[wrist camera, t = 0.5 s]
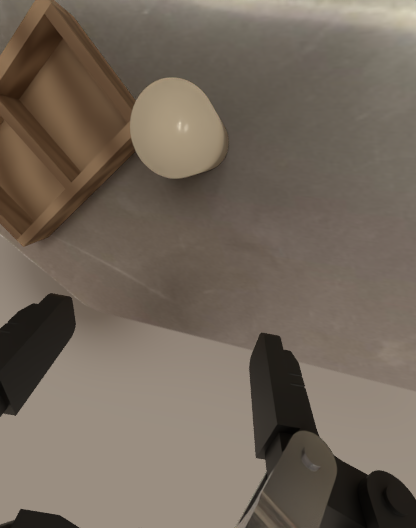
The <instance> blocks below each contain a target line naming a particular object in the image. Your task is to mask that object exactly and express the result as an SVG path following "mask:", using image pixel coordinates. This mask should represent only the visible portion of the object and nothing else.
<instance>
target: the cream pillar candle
mask: <svg viewBox="0 0 416 528" xmlns="http://www.w3.org/2000/svg"><path fill="white" fill-rule="evenodd" d="M130 133H131V139H132V142H133V146H134V148H135V151H136V152H137V154H138V156H139V158H140V159H141V161H142V162H143V163H144V164H145V165H146V166H147V167H148V168H149V169H150V170H152V171H153V172H155V173H156V174H158V175H161V176H163V177H167V178H174V179H177V178H184V177H188V176H192V175H195V174H198V173H202V172H205V171H209V170H211V169H214V168H216V167H217V166H218V165H219V164H221V162H222V161H223V160H224V158H225V156H226V154H227V151H228V147H229V138H228V134H227V131H226V128H225V127H224V125H223V123H222V121H221V120H220V118H219V116H218V115H217V113H216V111H215V109H214V108H213V106H212V104H211V103H210V101H209V99H208V98H207V96H206V95H205V94H204V92H203V91H202V90H201V89H200V88H198V87H197V86H196V85H194V84H193V83H191V82H189V81H187V80H184V79H180V78H171V77H170V78H163V79H160V80H157V81H155V82H153V83H152V84H150V85H149V86H147V87H146V88H145V89H144V90H143V91H142V93H141V94H140V95H139V97H138V98H137V100H136V102H135V104H134V106H133V110H132V113H131V119H130Z"/></svg>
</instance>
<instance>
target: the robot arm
mask: <svg viewBox="0 0 416 528" xmlns="http://www.w3.org/2000/svg"><path fill="white" fill-rule="evenodd" d="M75 325H76V323H75V316H74V309H73V302H72V298H71V297H69V296H64V295H58V294H53V293H50V294H48V295H47V296H46V297H45V298H44V299H43V300H42V301H41V302H40V303H39V304H31V305H29V306H27V307H26V308H24V309H22V310H20V311H18V312H17V314H15V315H14V316H13V317H12V318H11V319H10V320H9V321H8V323H7V324H5V325H4V326H3V327H1V328H0V417H1V415H2V414H3V413H4V414H10V415H15V416H16V415H17V413H18V412H19V410H20V409H21V408H22V406H23V405H24V403H25V402H26V401H27V399H28V398H29V396H30V395H31V393H32V392H33V391H34V389H35V388H36V386H37V385H38V384H39V382H40V381H41V379H42V378H43V377H44V375H45V374H46V372H47V371H48V369H49V368H50V367H51V365H52V364H53V362H54V361H55V360H56V358H57V357H58V355H59V354H60V352H61V351H62V350H63V348H64V347H65V346H66V344H67V343H68V341H69V340H70V338H71V337H72V335H73V333H74V330H75ZM249 370H250V384H251V398H252V411H253V425H254V438H255V452H256V458H259V459H265V460H266V470H267V472H266V473H265V475H264V477H263V479H262V480H261V482H260V484H259V485H258V487H257V489H256V491H255V493H254V494H253V496H252V498H251V500H250V501H249V504H248V505H247V507H246V509H245V510H244V512H243V514H242V516H241V517H240V519H239V521H238V523H237V524H236V526H235V528H416V499H415V498H414V496H413V495H412V493H411V492H410V491H409V490H408V488H407V487H406V486H405V485H404V484H403V483H402V482H401V481H400V480H398V479H397V478H396V477H394V476H393V475H391V474H389V473H387V472H384V471H380V470H378V471H374V472H372V473H371V474H369V475H367V474H365V473H363V472H361V471H360V470H358V469H356V468H354V467H352V466H350V465H349V464H347V463H345V462H343V461H341V460H340V459H338V458H337V457H336V456H334V455H333V453H332V451H331V450H330V448H329V447H328V445H327V444H326V443H325V442H324V441H323V440H322V439H321V438H320V437H319V434H318V432H317V429H316V425H315V422H314V418H313V414H312V411H311V407H310V403H309V400H308V396H307V392H306V389H305V388H304V386H305V385H304V381H303V378H302V374H301V370H300V367H299V363H298V361H297V360H296V358H295V357H294V355H293V354H292V352H291V351H288V350H283V346H282V342H281V338H280V336H278V335H272V334H267V333H261V334H260V335H259V338H258V340H257V343H256V345H255V348H254V350H253V352H252V355H251V359H250V366H249ZM0 528H79V527H77V526H76V525H74V524H73V523H71V522H70V521H68V520H66V519H65V518H63V517H61V516H60V515H55V514H49V513H43V512H37V511H30V510H24V509H21V510H20V511H19V513H18V515H17V517H16V519H15V520H13V521H10V522H7V523H4V524H1V525H0Z"/></svg>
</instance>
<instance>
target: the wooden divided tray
mask: <svg viewBox="0 0 416 528" xmlns="http://www.w3.org/2000/svg"><path fill="white" fill-rule="evenodd" d="M135 102H136V101H135V99H134V98H133V97H132V95H131V94H130V92H129V91H128V90H127V88H126V87H125V86H124V84H123V83H122V82H121V80H120V79H119V78H118V76H117V75H116V74H115V72H114V71H113V69H112V68H111V67H110V65H109V64H108V63H107V61H106V60H105V59H104V57H103V56H102V55H101V53H100V52H99V51H98V49H97V48H96V47H95V45H94V44H93V42H92V41H91V40H90V38H89V37H88V36H87V34H86V33H85V32H84V30H83V29H82V28H81V26H80V25H79V24H78V22H77V21H76V20H75V18H74V17H73V16H72V15H71V14H70V13H68V12H67V11H66V10H65V9H64V8H62V7H61V6H60V5H59V4H58V3H57V2H55V1H54V0H35V2H34V3H33V5H32V6H31V8H30V9H29V11H28V13H27V14H26V16H25V17H24V19H23V21H22V22H21V24H20V25H19V27H18V28H17V30H16V32H15V33H14V35H13V36H12V38H11V40H10V41H9V43H8V44H7V46H6V47H5V49H4V51H3V52H2V54H1V55H0V224H1V225H2V226H3V227H4V228H5V229H6V230H7V231H8V232H9V233H10V234H11V235H12V236H13V237H14V238H15V239H16V240H17V241H18V242H19V243H20V244H21V245H22V246H23V247H24V246H27V245H29V244H32V243H35V242H37V241H40V240H42V239H45V238H47V237H49V236H50V235H51V234H52V233H53V232H54V231H55V230H56V229H57V228H58V227H59V226H60V225H61V224H62V223H63V222H64V221H65V220H66V219H67V218H68V217H69V216H70V215H71V214H72V213H73V212H74V211H75V210H76V209H77V208H78V207H79V206H80V205H81V204H82V203H83V202H84V201H85V200H86V199H87V198H88V197H89V196H90V195H92V194H93V193H94V192H95V191H96V190H97V189H98V188H99V187H100V186H101V185H102V184H103V183H104V182H105V181H106V180H107V179H108V178H109V177H110V176H111V175H112V174H113V173H114V172H115V171H116V170H117V169H118V168H119V167H120V166H121V165H122V164H123V163H124V162H125V161H126V160H127V159H128V158H129V157H130V156H131V155H132V154H133V153H134V152H135V148H134V146H133V142H132V139H131V133H130V119H131V113H132V110H133V106H134V104H135Z"/></svg>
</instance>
